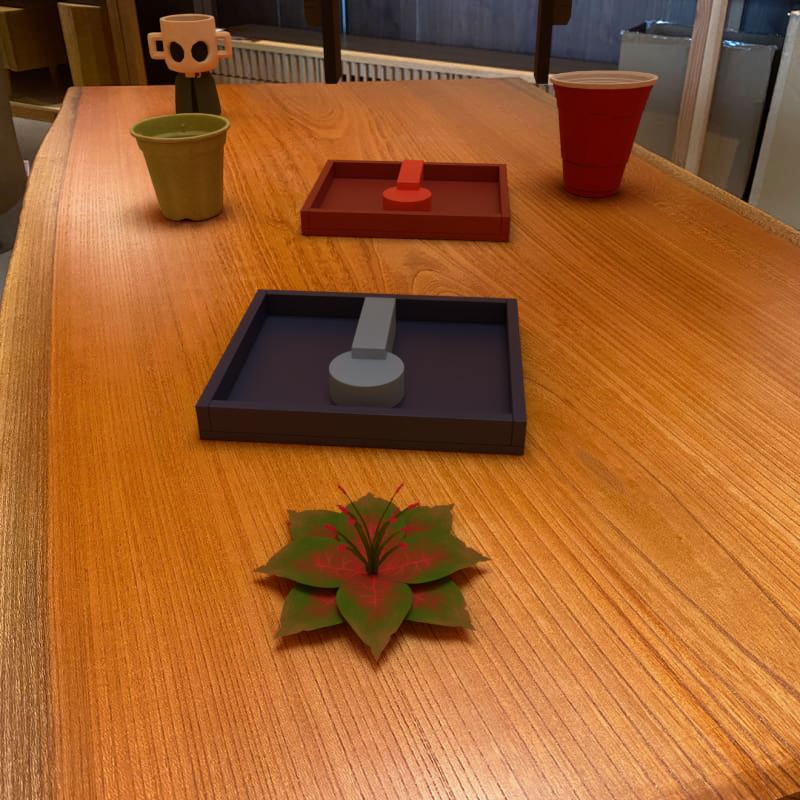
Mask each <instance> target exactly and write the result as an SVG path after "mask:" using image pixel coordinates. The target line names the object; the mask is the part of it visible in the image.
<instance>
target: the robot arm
mask: <svg viewBox="0 0 800 800" xmlns="http://www.w3.org/2000/svg"><path fill="white" fill-rule="evenodd" d="M339 3H340V2H339V0H303V13H304V20H305V22H306V24H307V26H308V27H321V33H322V51H323V68H324V69H323V70H324V84H325V85H338V83H339V81H340V80H341V78H342V76H343V65H342V46H341V45H342V44H341V42H342V41H341V26H340V25H341V24H340V4H339ZM572 9H573V0H538V3H537V19H536V20H537V22H536V30H535V31H536V33H535V34H536V35H535V49H534V63H533V78H534V80H535V84H536V85H549V79H550V77H549V76H550V65H551V52H552V40H553V39H552V37H553V27H554V26H568V24H569V22H570V20H571V18H572Z"/></svg>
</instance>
